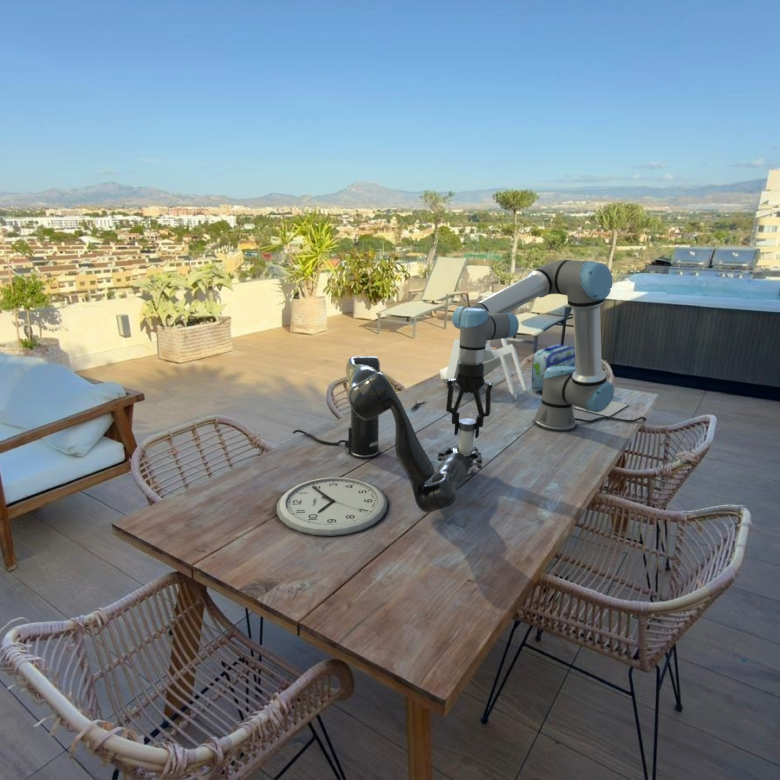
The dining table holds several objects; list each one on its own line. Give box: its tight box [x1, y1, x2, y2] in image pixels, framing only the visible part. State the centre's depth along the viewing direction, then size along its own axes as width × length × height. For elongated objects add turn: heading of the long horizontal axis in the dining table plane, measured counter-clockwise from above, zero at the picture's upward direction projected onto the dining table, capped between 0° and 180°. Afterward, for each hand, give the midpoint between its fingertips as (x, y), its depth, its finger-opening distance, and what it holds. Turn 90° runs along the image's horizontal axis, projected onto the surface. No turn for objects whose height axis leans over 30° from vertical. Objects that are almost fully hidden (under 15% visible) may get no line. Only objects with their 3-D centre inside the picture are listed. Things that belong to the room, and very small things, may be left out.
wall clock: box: [276, 476, 388, 537], centre depth 142 cm, size 30×2×30 cm
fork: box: [410, 395, 426, 411], centre depth 223 cm, size 3×16×2 cm, turn 160°
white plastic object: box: [438, 338, 531, 400], centre depth 245 cm, size 37×45×31 cm
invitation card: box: [573, 400, 629, 417], centre depth 226 cm, size 21×1×15 cm
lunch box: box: [530, 344, 576, 392], centre depth 247 cm, size 26×11×21 cm, turn 134°
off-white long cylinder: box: [458, 429, 475, 476], centre depth 162 cm, size 4×4×16 cm
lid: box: [458, 417, 476, 432], centre depth 159 cm, size 5×5×2 cm
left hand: (467, 448), depth 164 cm, fingers closed on off-white long cylinder, 4 cm apart
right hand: (466, 434), depth 160 cm, fingers open, 6 cm apart
